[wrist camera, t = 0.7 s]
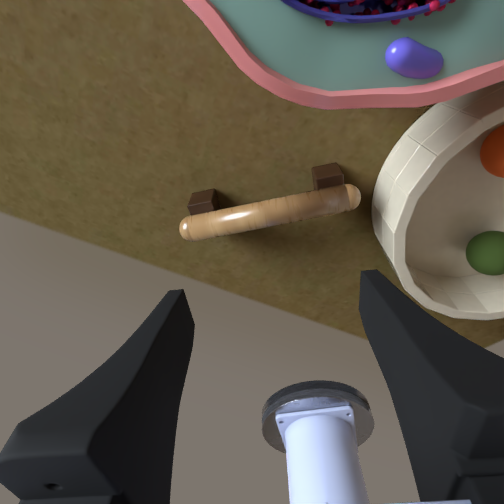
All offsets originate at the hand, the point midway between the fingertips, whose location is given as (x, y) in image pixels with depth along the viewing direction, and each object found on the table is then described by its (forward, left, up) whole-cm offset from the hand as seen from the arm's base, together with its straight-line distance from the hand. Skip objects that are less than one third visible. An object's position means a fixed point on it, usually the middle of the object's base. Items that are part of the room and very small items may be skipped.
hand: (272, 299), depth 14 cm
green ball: (-7, -14, -8) cm, 18 cm away
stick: (0, 0, -8) cm, 8 cm away
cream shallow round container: (-3, -14, -10) cm, 18 cm away
